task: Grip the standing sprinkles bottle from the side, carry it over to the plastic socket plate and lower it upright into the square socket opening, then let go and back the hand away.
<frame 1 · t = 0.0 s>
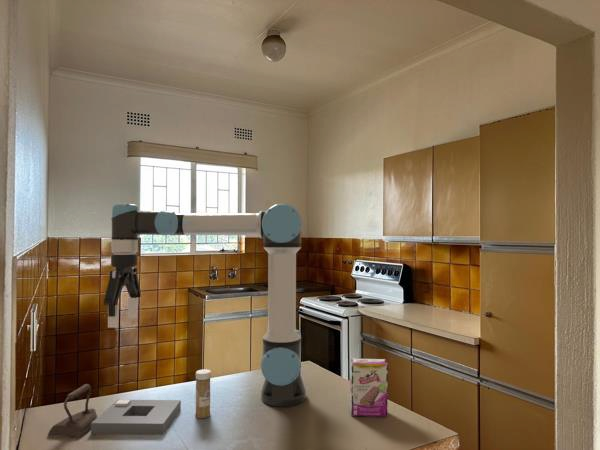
hand: (123, 322, 124), 28 cm above the countertop, tool pointing down, fingers open, 13 cm apart
socket plate: (138, 421, 119), on the countertop
candy bar box: (368, 414, 124), on the countertop
sprinkles bottle: (202, 416, 123), on the countertop
clothes iron: (79, 427, 116), on the countertop
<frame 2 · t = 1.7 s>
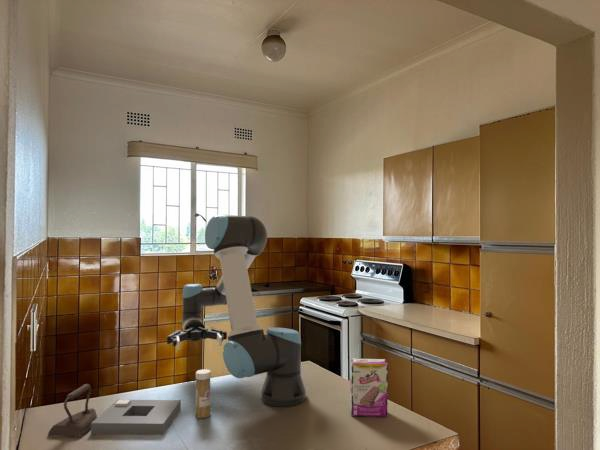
hand: (200, 343, 132), 19 cm above the countertop, tool horizontal, fingers open, 13 cm apart
nothing on the countertop moved.
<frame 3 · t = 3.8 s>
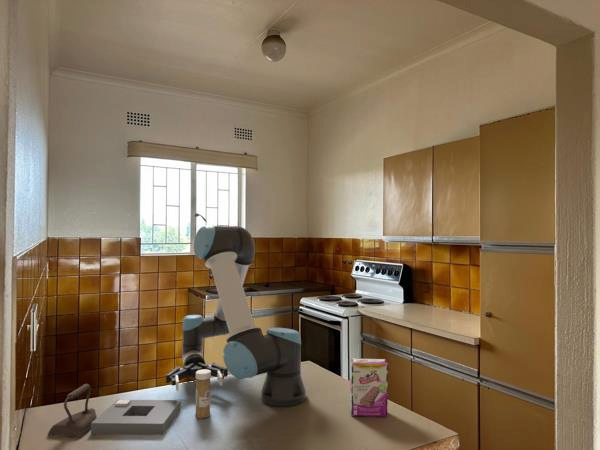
hand: (199, 383, 128), 8 cm above the countertop, tool horizontal, fingers open, 13 cm apart
nothing on the countertop moved.
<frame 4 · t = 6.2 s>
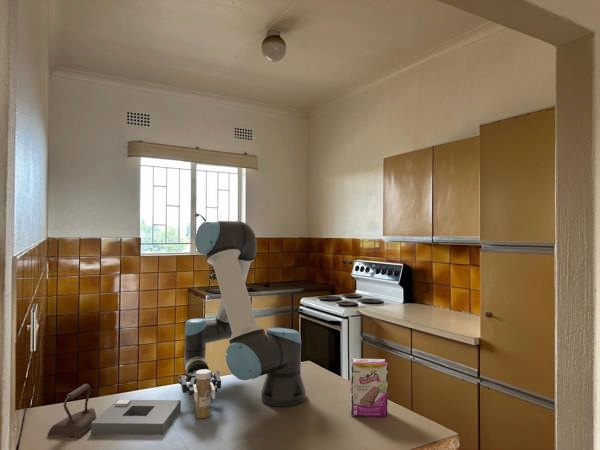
hand: (205, 395, 118), 8 cm above the countertop, tool horizontal, fingers closed on sprinkles bottle, 4 cm apart
sprinkles bottle: (202, 416, 123), on the countertop, touching gripper
everything else where it was.
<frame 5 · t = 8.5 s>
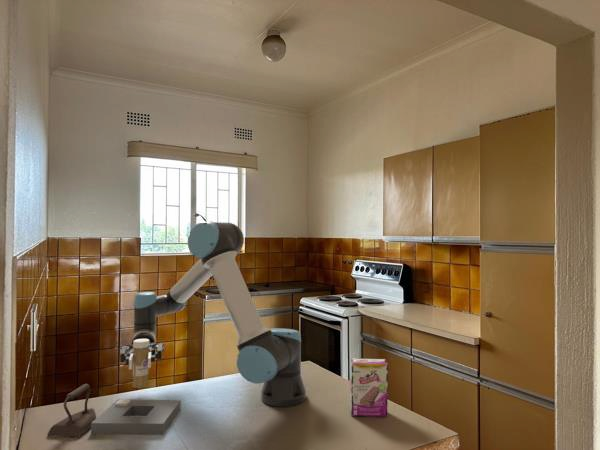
hand: (139, 363, 115), 18 cm above the countertop, tool horizontal, fingers closed on sprinkles bottle, 4 cm apart
sprinkles bottle: (140, 386, 120), point 10 cm above the countertop, touching gripper
everything else where it was.
when the fingers open (9 cm above the countertop, at t = 10.8 s): sprinkles bottle drops 1 cm, resting in socket plate.
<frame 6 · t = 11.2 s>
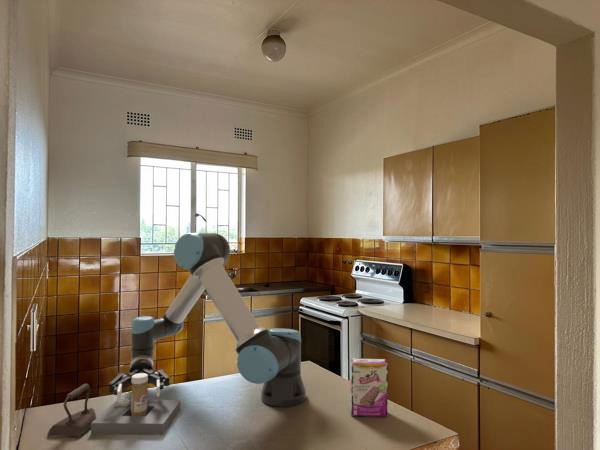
hand: (138, 394, 115), 9 cm above the countertop, tool horizontal, fingers open, 10 cm apart
sprinkles bottle: (138, 421, 119), resting in socket plate
everything else where it was.
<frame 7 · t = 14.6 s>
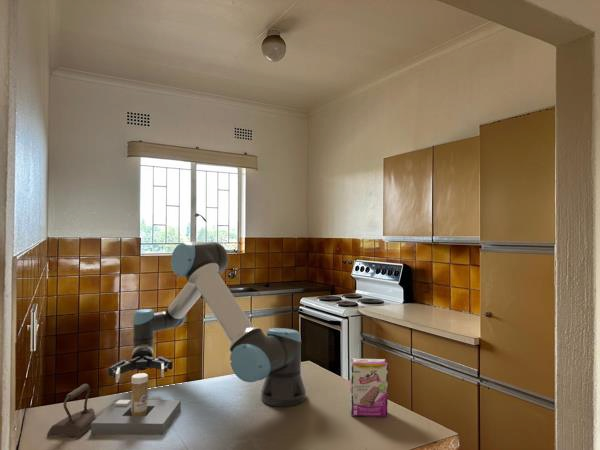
hand: (140, 375, 128), 10 cm above the countertop, tool horizontal, fingers open, 13 cm apart
nothing on the countertop moved.
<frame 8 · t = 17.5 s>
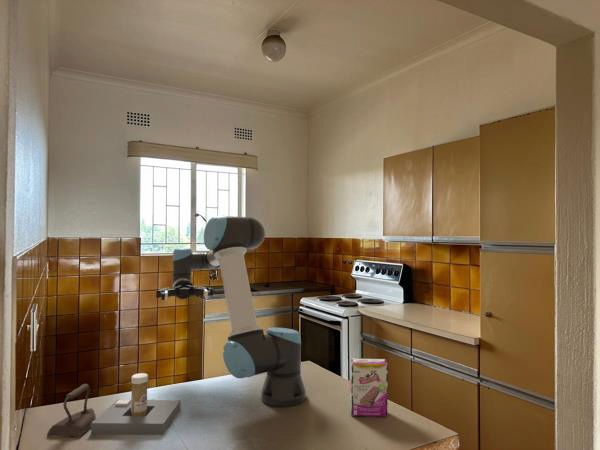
hand: (187, 296, 140), 34 cm above the countertop, tool horizontal, fingers open, 13 cm apart
nothing on the countertop moved.
at the end: sprinkles bottle 0.1 cm off-centre on the socket plate, point 0.0 cm above the socket plate's base; sprinkles bottle tilted 0°; the gripper is holding nothing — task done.
